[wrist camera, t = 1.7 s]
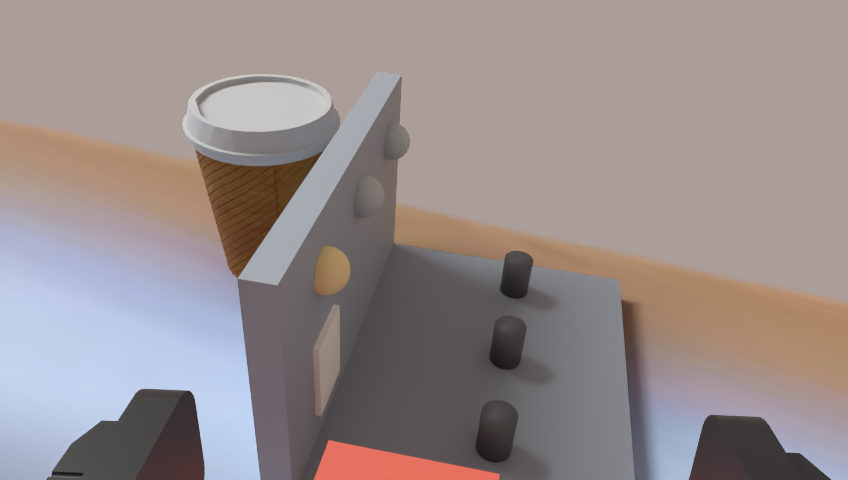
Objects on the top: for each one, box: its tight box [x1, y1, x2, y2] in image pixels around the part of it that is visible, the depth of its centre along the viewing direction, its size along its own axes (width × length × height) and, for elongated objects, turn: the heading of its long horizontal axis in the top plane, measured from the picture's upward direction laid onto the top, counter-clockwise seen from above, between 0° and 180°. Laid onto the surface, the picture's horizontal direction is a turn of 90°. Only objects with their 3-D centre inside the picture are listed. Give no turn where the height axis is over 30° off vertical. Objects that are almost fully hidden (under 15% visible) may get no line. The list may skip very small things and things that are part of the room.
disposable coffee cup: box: [182, 74, 340, 277], centre depth 45 cm, size 10×10×12 cm
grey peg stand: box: [237, 72, 635, 480], centre depth 36 cm, size 17×21×14 cm
